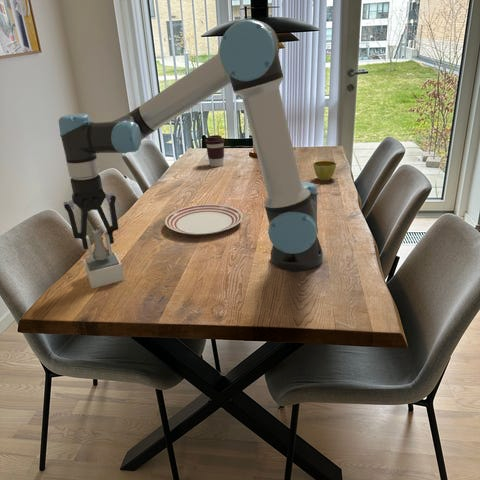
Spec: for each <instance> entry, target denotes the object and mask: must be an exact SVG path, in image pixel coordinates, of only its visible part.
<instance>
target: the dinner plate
mask: <svg viewBox="0 0 480 480" xmlns="http://www.w3.org/2000/svg"><path fill="white" fill-rule="evenodd" d="M243 217H244V216H243V213H242V211H240V210H238V209H237V208H235V207H232V206H230V205H223V204H214V203H208V204H207V203H206V204H205V203H204V204H196V205H194V204H193V205H190V206H185V207H182V208H179V209H176V210H174V211H173V212H171V213H169V215H167V216H166V218H165V220H164V223H165V225H166V227H167V228H168V229H170V230H172V231H174V232H177V233H180V234H184V235H192V236H208V235H213V234H218V233H222V232H224V231H228V230H230V229H232V228H234V227H236V226H238V225H239V224H240V223H241V222H242V220H243Z"/></svg>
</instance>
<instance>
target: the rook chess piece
mask: <svg viewBox="0 0 480 480" xmlns="http://www.w3.org/2000/svg"><path fill="white" fill-rule="evenodd" d="M103 234H104V232H102V230H101V229H95V230H94V229H93V230H92V231H91V234H90V236H91V237H92V242H93V250H92V254H93V258H94V259H95V260H104V259H106V258H108V256H109V254H108V250H107V247H106V246H105V244H104V241H103V239H104V238H103Z"/></svg>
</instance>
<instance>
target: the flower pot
mask: <svg viewBox="0 0 480 480" xmlns="http://www.w3.org/2000/svg"><path fill="white" fill-rule="evenodd" d="M312 165H313V171H314V173H315V175H316V177H317V179H318V180H319V181H321V182H322V181H325V182H326V181H330V180H331V179H332V177H333V175H334V173H335V170H336V168H337V162H336V161H331V160H319V161H315V162H313V164H312Z"/></svg>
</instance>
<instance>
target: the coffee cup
mask: <svg viewBox="0 0 480 480" xmlns="http://www.w3.org/2000/svg"><path fill="white" fill-rule="evenodd" d="M204 143H205V145H206V152H207V158H208V162H209V166H210V167H213V168H214V167H215V168H219V167H222V166H224V164H225V163H224V161H225V160H224V157H225V145H224V143H225V138H224V137H222V135H220V134H218V135H217V134H215V135H214V134H213V135H209V136H207V138H205V140H204Z"/></svg>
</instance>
